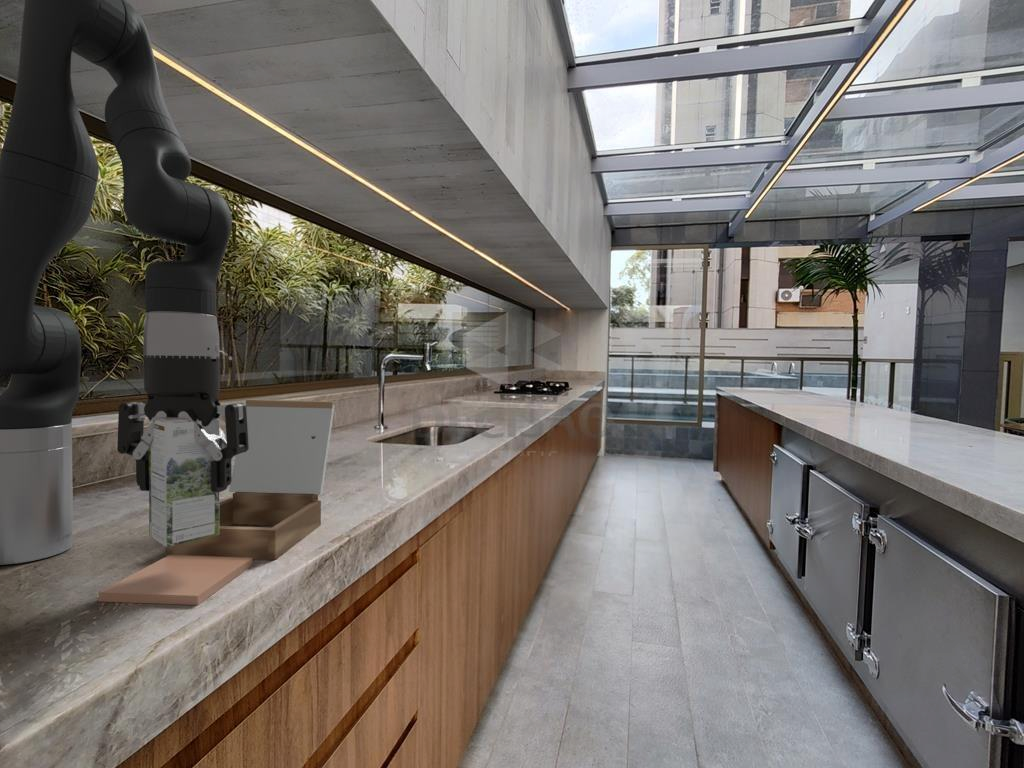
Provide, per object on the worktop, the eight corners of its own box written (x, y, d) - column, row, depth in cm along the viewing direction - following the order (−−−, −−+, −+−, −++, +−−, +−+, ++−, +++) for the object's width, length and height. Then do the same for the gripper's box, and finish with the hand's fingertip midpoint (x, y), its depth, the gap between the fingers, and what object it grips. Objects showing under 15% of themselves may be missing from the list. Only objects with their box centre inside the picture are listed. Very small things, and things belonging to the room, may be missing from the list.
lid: (228, 493, 83) (228, 402, 83) (249, 484, 89) (249, 399, 89) (320, 495, 83) (320, 404, 82) (334, 486, 89) (335, 401, 88)
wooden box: (165, 556, 69) (164, 452, 68) (243, 515, 88) (243, 433, 87) (275, 559, 68) (275, 455, 68) (330, 517, 87) (330, 435, 87)
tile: (98, 601, 56) (98, 592, 56) (169, 562, 67) (169, 554, 67) (197, 604, 55) (197, 595, 55) (252, 565, 66) (252, 557, 66)
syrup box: (201, 526, 65) (200, 412, 65) (221, 536, 62) (220, 415, 61) (148, 537, 61) (146, 415, 60) (166, 549, 57) (164, 419, 56)
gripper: (96, 352, 57) (99, 497, 57) (223, 353, 56) (225, 499, 57) (146, 353, 64) (148, 482, 65) (259, 354, 64) (260, 484, 64)
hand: (184, 490), depth 61 cm, fingers closed on syrup box, 8 cm apart
